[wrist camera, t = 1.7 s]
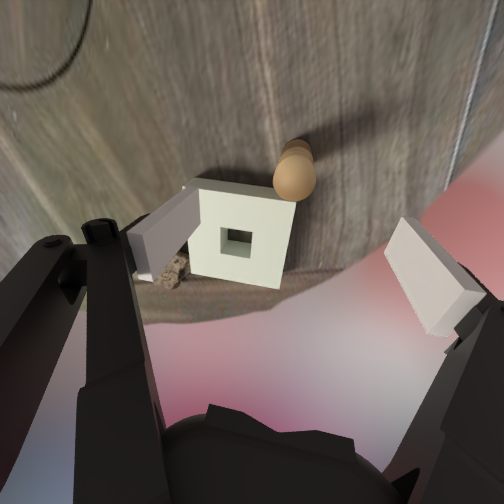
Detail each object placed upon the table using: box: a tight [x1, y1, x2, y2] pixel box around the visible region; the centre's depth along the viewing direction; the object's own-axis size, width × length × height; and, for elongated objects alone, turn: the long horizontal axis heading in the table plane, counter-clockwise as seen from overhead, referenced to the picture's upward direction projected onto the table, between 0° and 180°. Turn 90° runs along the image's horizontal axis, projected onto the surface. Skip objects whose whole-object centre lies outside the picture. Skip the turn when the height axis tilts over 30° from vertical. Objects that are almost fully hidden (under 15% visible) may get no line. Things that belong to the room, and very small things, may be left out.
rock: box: [153, 251, 191, 290], centre depth 44 cm, size 11×11×4 cm
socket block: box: [182, 177, 296, 289], centre depth 38 cm, size 16×16×4 cm
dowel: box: [273, 139, 316, 202], centre depth 26 cm, size 4×4×12 cm
